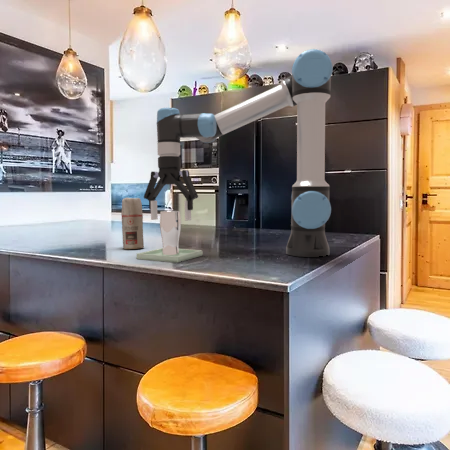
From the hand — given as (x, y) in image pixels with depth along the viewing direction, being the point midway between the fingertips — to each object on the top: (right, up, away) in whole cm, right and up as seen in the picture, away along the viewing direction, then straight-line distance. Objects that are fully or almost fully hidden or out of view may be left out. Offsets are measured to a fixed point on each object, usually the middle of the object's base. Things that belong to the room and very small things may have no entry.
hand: (170, 220), depth 138 cm
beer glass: (0, -12, +1) cm, 12 cm away
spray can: (-18, -11, +22) cm, 30 cm away
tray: (0, -13, +1) cm, 13 cm away
